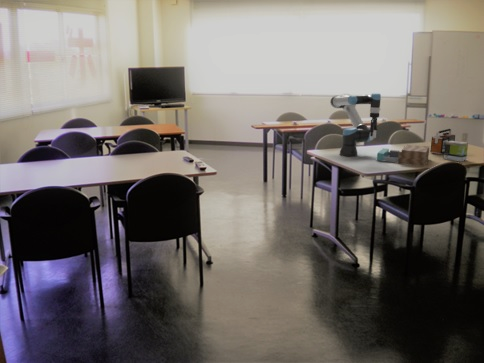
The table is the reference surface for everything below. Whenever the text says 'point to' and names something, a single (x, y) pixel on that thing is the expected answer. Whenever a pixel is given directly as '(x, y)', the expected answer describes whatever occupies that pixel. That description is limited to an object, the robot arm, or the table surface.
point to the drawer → (385, 156)
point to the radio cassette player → (441, 141)
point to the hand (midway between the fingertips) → (372, 138)
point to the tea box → (455, 150)
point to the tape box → (394, 153)
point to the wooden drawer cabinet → (414, 155)
